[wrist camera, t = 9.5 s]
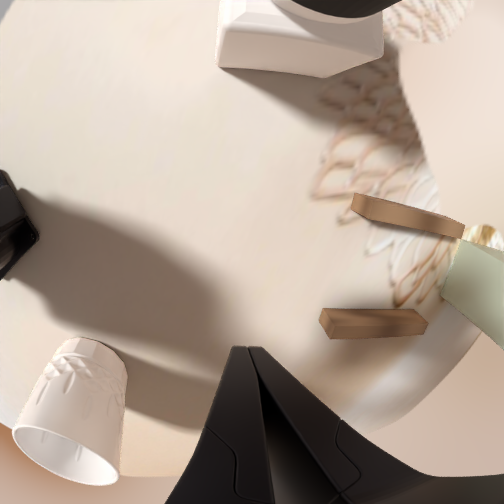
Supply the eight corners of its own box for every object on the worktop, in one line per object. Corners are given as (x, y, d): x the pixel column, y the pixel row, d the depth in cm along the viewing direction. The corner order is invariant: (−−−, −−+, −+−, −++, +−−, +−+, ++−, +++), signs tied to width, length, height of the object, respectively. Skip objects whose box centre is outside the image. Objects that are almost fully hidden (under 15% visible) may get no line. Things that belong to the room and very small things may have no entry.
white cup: (102, 405, 24) (85, 490, 14) (39, 355, 21) (0, 438, 11) (152, 374, 23) (143, 476, 14) (81, 314, 20) (34, 412, 11)
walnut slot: (318, 320, 23) (330, 339, 21) (354, 192, 20) (372, 200, 17) (409, 319, 25) (423, 334, 23) (446, 216, 22) (465, 225, 19)
